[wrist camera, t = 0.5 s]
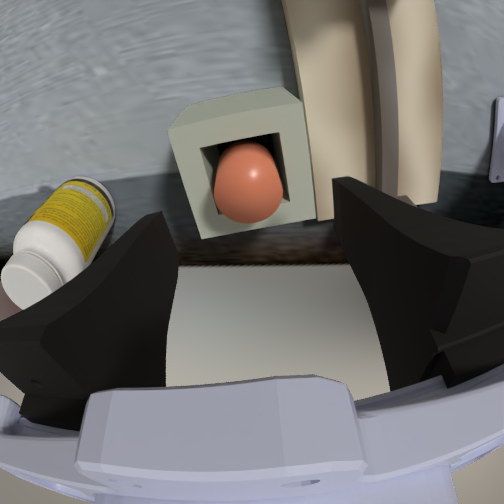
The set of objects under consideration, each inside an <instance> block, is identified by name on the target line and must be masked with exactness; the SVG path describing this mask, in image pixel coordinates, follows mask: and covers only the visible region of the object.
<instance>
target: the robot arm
mask: <svg viewBox="0 0 504 504" xmlns="http://www.w3.org/2000/svg"><path fill="white" fill-rule="evenodd" d="M489 180H490V181H491V182H492V183H496V182H504V97H498V98H497V99H496V111H495V128H494V140H493V149H492V158H491V165H490V172H489ZM332 190H333V206H334V226H335V230H336V233H337V236H338V239H339V241H340V244H341V247H342V250H343V252H344V254H345V256H346V258H347V260H348V262H349V264H350V266H351V267H352V269H353V272H354V274H355V276H356V278H357V280H358V282H359V284H360V286H361V288H362V290H363V293H364V295H365V297H366V300H367V302H368V305H369V308H370V311H371V314H372V317H373V320H374V324H375V327H376V331H377V334H378V338H379V341H380V345H381V349H382V353H383V357H384V362H385V366H386V370H387V375H388V380H389V386H390V391H391V392H388V393H384V394H380V395H376V396H373V397H369V398H365V399H361V400H357V401H354V400H353V397H352V395H351V393H350V391H349V389H348V387H347V385H346V384H344V383H341V382H339V381H336V380H332V379H328V378H324V377H321V376H317V375H313V374H312V375H293V376H273V377H266V378H259V379H252V380H243V381H235V382H226V383H215V384H205V385H191V386H175V387H166V344H167V331H168V324H169V320H170V314H171V309H172V304H173V299H174V293H175V289H176V284H177V278H178V265H179V254H178V252H177V249H176V247H175V244H174V242H173V239H172V237H171V234H170V232H169V229H168V227H167V224H166V221H165V219H164V216H163V214H162V211H160V212H156V213H152V214H148V215H146V216H144V217H143V218H141V219H140V220H139V221H138V222H136V223H135V224H134V225H133V226H132V227H131V228H130V229H129V230H128V231H126V232H125V233H124V234H123V235H122V236H121V237H120V238H119V239H118V240H117V241H116V242H115V243H114V244H113V245H112V246H110V247H109V248H108V249H107V250H106V251H105V252H104V253H103V254H102V255H100V256H99V257H98V258H97V259H96V260H95V261H94V262H93V263H92V264H90V265H89V266H88V267H87V268H86V269H84V270H83V271H82V272H80V273H79V274H78V275H77V276H75V277H74V278H73V279H71V280H70V281H69V282H67V283H66V284H64V285H63V286H61V287H60V288H58V289H57V290H56V291H54V292H53V293H51V294H50V295H48V296H46V297H45V298H43V299H42V300H40V301H38V302H37V303H35V304H33V305H31V306H30V307H28V308H26V309H24V310H22V311H20V312H18V313H16V314H14V315H12V316H10V317H8V318H6V319H4V320H2V321H1V322H0V372H1V373H2V374H3V375H4V376H5V377H6V378H7V379H8V380H10V381H11V382H12V383H13V384H14V385H15V386H16V387H17V388H19V389H20V390H21V391H22V392H23V393H25V396H24V398H23V402H22V405H21V407H20V406H19V405H18V404H17V403H16V402H14V401H13V400H12V399H10V398H8V397H6V396H4V395H0V468H2V469H4V470H6V471H8V472H9V473H11V474H13V475H15V476H17V477H19V478H21V479H24V480H26V481H29V482H32V483H34V484H36V485H39V486H41V487H44V488H47V489H49V490H52V491H55V492H58V493H61V494H64V495H67V496H70V497H73V498H76V499H79V500H83V501H86V502H90V503H93V504H458V501H457V497H456V492H455V488H454V484H453V480H452V476H451V473H453V472H455V471H457V470H459V469H461V468H463V467H465V466H467V465H469V464H471V463H473V462H475V461H477V460H478V459H480V458H482V457H484V456H486V455H488V454H489V453H491V452H493V451H494V450H496V449H498V448H499V447H501V446H503V445H504V229H498V228H490V227H485V226H480V225H475V224H470V223H466V222H462V221H458V220H454V219H451V218H447V217H444V216H440V215H437V214H434V213H431V212H429V211H426V210H423V209H420V208H418V207H415V206H412V205H410V204H408V203H405V202H403V201H401V200H399V199H396V198H394V197H392V196H390V195H388V194H386V193H384V192H382V191H380V190H378V189H376V188H373V187H371V186H369V185H367V184H365V183H363V182H361V181H359V180H357V179H355V178H352V177H349V176H345V177H338V178H332Z"/></svg>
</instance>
